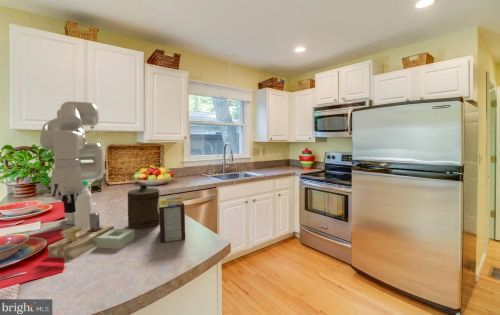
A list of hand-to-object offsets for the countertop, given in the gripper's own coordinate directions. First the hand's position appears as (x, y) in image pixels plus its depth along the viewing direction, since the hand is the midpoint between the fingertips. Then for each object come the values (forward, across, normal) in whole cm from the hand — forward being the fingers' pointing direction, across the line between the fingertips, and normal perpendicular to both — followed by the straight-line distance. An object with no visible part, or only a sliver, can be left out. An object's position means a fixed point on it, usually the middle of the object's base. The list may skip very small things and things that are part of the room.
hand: (70, 212), depth 93 cm
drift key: (+12, 0, 0) cm, 12 cm away
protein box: (+17, -22, +30) cm, 41 cm away
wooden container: (+16, -32, +11) cm, 38 cm away
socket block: (+16, -6, 0) cm, 17 cm away
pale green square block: (+16, -9, +12) cm, 22 cm away
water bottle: (+16, -20, -12) cm, 29 cm away
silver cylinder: (+15, -12, 0) cm, 20 cm away
